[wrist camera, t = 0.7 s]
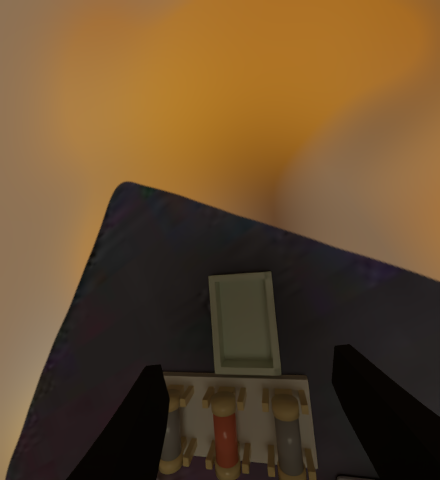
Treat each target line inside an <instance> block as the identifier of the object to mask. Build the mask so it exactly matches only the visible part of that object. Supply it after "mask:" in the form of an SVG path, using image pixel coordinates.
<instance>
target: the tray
mask: <svg viewBox="0 0 440 480" xmlns="http://www.w3.org/2000/svg"><path fill="white" fill-rule="evenodd" d="M208 277H209V292H210V307H211V322H212V336H213V351H214V366H215V374H232V375H270V376H282V375H281V363H280V353H279V343H278V333H277V324H276V314H275V304H274V294H273V285H272V275H271V271H267V272H253V273H238V274H224V275H212V276H208Z"/></svg>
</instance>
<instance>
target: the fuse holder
mask: <svg viewBox="0 0 440 480" xmlns="http://www.w3.org/2000/svg"><path fill="white" fill-rule="evenodd" d="M163 375H164V379H165V383H166V386H167V390H168V389H176V390H178V391H179V392H180V406H179V409H180V429H181V446H182V448H183V454H184V456H183V466H187V467H189V465H190V463H191V460H192V458H193V456H203V457H206V469H212V468H213V464H214V461H215V456H216V452H215V437H214V421H213V413H212V411H211V397H212V396H213V395H214V394H215V393H218V392H222V391H228V392H231V393H233V394H234V395H235V399H236V411H235V415H236V428H237V441H238V453H239V455H240V461H242V472H243V473H245V474H249V469H250V462H258V463H267V464H268V476H270V477H275V464H277V462H278V451H277V441H276V431H275V420H274V415H273V413H272V403H271V399H272V397H273V396H275V395H277V394H289V395H292V396H294V397H295V398H296V399H297V400H298V404H299V413H300V415H299V426H300V436H301V445H302V454H303V462H304V464H305V468H307V469H308V475H309V480H316V472H315V469H318V464H317V456H316V447H315V438H314V430H313V421H312V412H311V404H310V395H309V386H308V379H307V376H306V375H282V376H270V375H232V374H215V373H195V372H163Z"/></svg>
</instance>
